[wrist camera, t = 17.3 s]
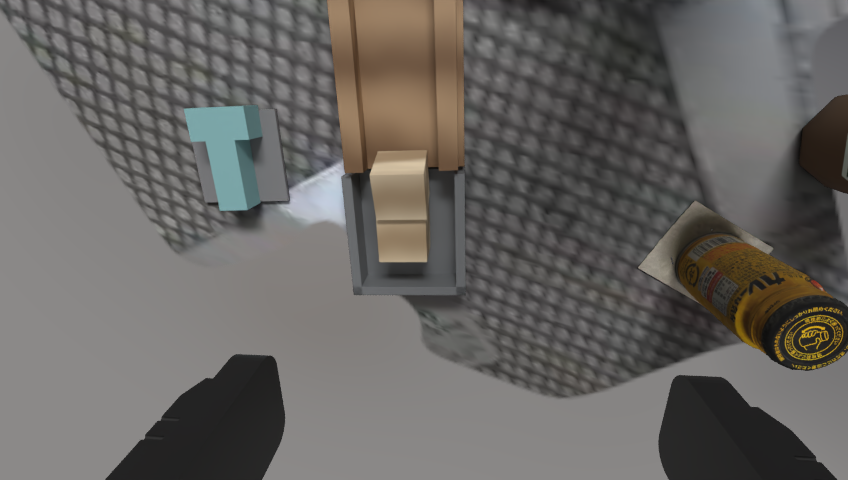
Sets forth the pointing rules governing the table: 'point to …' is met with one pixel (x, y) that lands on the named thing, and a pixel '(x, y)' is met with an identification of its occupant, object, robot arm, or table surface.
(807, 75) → the table surface
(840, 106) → the beer bottle
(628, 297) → the table surface
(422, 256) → the tan block
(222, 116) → the teal t-shaped block
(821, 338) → the condiment
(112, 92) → the table surface
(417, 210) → the tan wooden cube
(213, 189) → the mat
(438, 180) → the tray
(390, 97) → the slot board
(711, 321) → the table surface
